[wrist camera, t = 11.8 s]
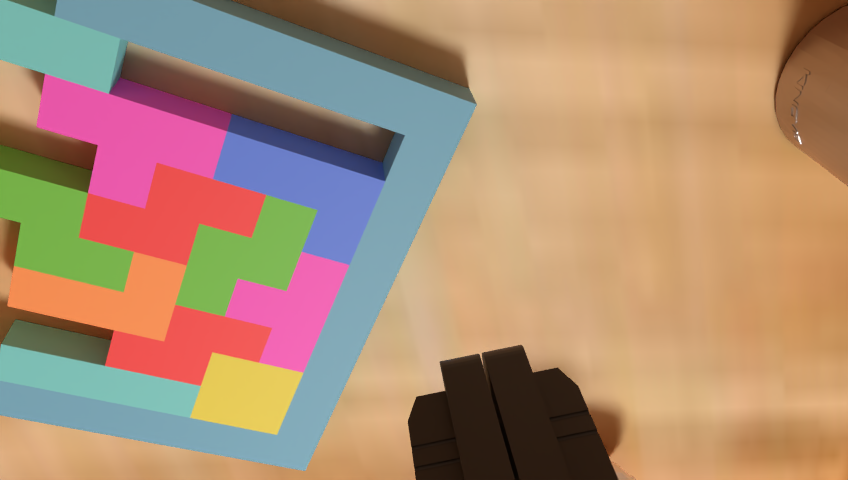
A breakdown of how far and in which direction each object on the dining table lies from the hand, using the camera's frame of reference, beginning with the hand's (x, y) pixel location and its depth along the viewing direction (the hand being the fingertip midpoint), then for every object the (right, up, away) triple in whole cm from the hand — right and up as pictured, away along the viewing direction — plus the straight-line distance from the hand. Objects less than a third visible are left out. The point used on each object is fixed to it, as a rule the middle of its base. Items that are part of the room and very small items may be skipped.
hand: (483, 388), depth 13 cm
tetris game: (-17, +4, +28) cm, 33 cm away
